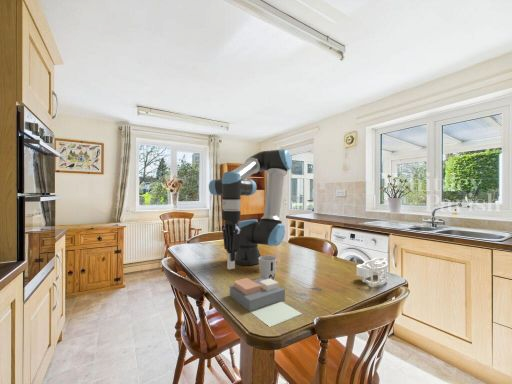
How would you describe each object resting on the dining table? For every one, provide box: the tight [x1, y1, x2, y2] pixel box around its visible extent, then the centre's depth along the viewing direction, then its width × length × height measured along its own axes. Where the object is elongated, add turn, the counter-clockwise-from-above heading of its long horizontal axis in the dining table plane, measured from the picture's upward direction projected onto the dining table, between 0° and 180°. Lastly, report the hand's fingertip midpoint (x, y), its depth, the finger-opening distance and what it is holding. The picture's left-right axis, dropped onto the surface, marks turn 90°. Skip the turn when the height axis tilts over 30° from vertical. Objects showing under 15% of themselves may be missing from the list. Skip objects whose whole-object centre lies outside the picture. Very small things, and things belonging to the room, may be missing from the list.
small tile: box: [259, 278, 279, 291], centre depth 87 cm, size 5×5×2 cm
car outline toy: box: [356, 257, 389, 287], centre depth 107 cm, size 20×11×7 cm, turn 127°
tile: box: [233, 277, 260, 295], centre depth 86 cm, size 9×6×2 cm, turn 34°
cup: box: [258, 255, 278, 281], centre depth 104 cm, size 8×8×10 cm
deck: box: [229, 277, 286, 313], centre depth 87 cm, size 14×15×4 cm
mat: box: [250, 301, 303, 328], centre depth 76 cm, size 10×13×1 cm
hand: (231, 268), depth 95 cm, fingers closed
